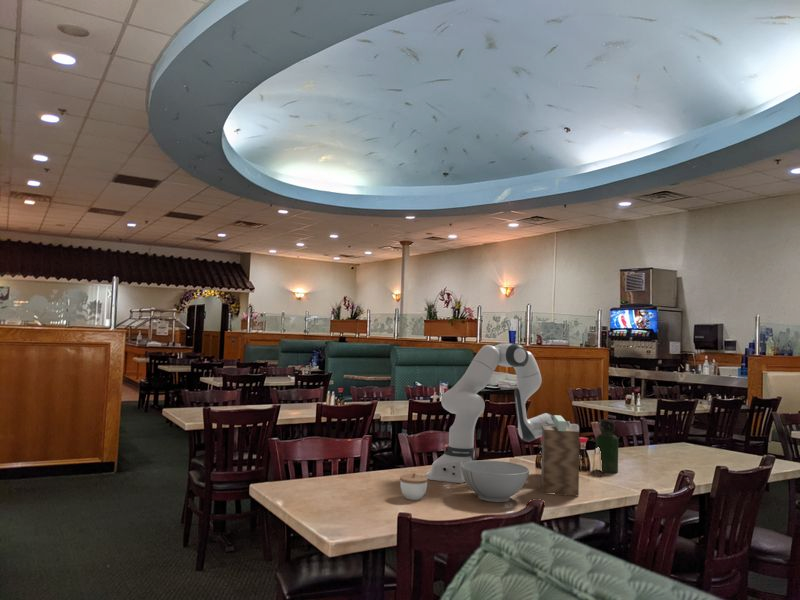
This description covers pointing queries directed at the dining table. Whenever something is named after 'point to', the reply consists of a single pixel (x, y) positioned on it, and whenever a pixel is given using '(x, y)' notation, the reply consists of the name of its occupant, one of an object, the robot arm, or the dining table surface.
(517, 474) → the decorative bowl
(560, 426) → the sage block
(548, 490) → the wood grain block
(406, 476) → the lidded jar
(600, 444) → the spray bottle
